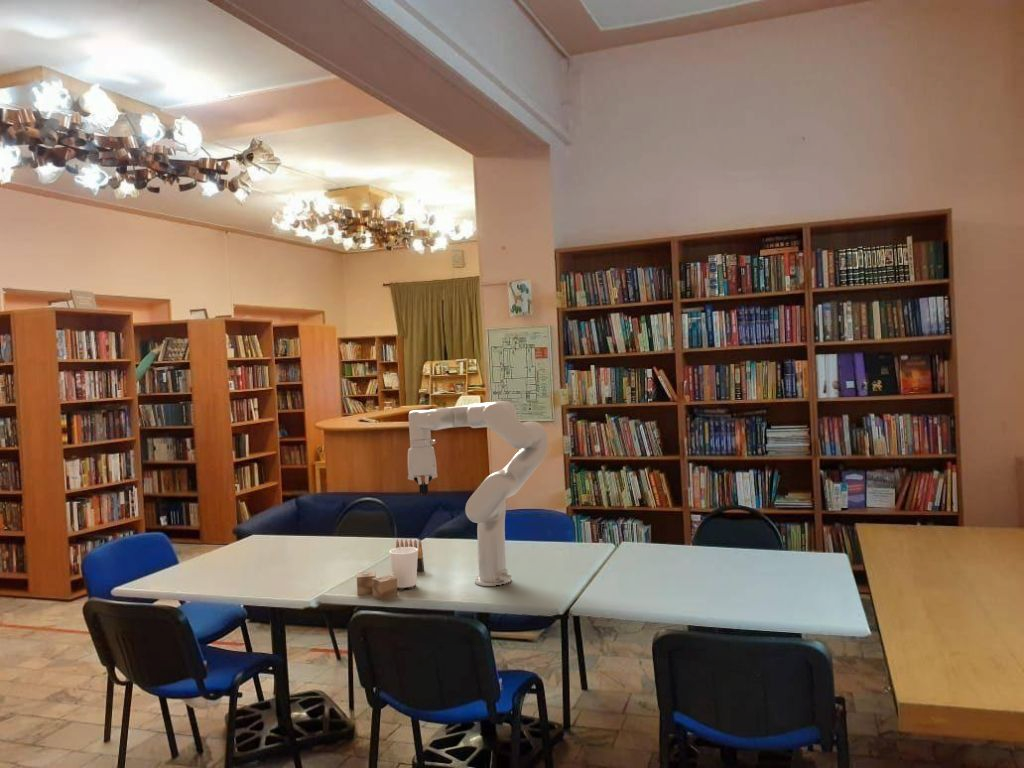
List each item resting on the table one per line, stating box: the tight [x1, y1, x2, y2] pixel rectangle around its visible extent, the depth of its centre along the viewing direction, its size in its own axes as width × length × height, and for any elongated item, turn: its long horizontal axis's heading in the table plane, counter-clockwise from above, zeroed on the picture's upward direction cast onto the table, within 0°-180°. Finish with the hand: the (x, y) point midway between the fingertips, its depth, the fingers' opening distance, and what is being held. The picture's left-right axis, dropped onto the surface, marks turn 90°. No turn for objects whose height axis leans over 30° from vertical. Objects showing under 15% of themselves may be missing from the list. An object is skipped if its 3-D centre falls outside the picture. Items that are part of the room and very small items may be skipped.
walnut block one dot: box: [356, 571, 377, 596], centre depth 252 cm, size 6×6×6 cm
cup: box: [389, 546, 418, 591], centre depth 255 cm, size 10×10×13 cm
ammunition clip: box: [395, 538, 425, 573], centre depth 276 cm, size 11×2×12 cm, turn 78°
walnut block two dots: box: [372, 574, 398, 601], centre depth 246 cm, size 6×6×6 cm
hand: (423, 494), depth 267 cm, fingers closed
